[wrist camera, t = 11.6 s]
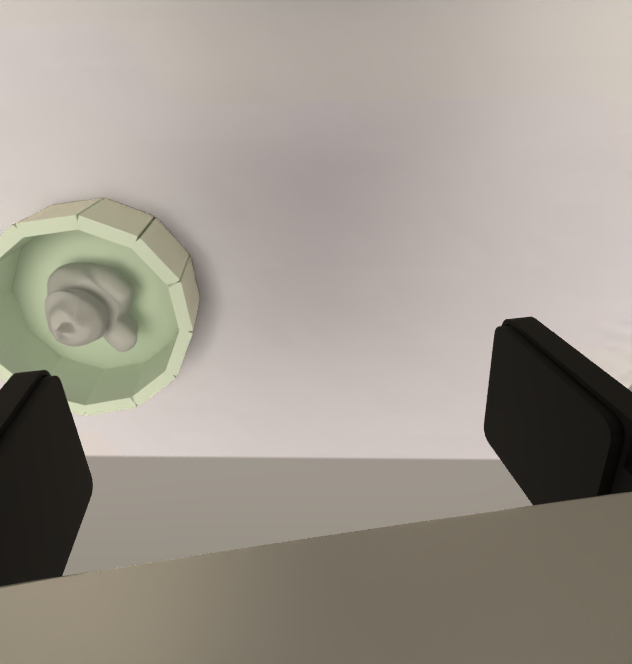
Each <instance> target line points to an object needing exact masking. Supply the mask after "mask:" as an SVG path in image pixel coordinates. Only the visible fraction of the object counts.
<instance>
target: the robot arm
mask: <svg viewBox="0 0 632 664" xmlns="http://www.w3.org/2000/svg"><path fill="white" fill-rule="evenodd" d="M484 432H485V436H486V439H487V441H488V443H489V444H490V445H491V447H492V448H493V450H494V451H495V452H496V454H497V455H498V457H499V458H500V459H501V461H502V462H503V464H504V465H505V466H506V468H507V469H508V470H509V472H510V473H511V475H512V476H513V478H514V479H515V480H516V482H517V483H518V485H519V486H520V487H521V489H522V490H523V491H524V493H525V494H526V496H527V497H528V499H529V500H530V501H531V503H532V504H533V505H532V506H526V507H518V508H511V509H504V510H497V511H490V512H484V513H476V514H470V515H463V516H456V517H449V518H443V519H436V520H429V521H422V522H415V523H409V524H401V525H395V526H388V527H381V528H374V529H368V530H361V531H354V532H347V533H341V534H334V535H328V536H321V537H314V538H308V539H301V540H295V541H288V542H282V543H275V544H269V545H262V546H255V547H249V548H242V549H235V550H229V551H222V552H216V553H209V554H202V555H196V556H189V557H184V558H176V559H170V560H164V561H158V562H152V563H145V564H138V565H132V566H125V567H119V568H112V569H106V570H99V571H93V572H86V573H80V574H74V575H67V576H62V575H63V572H64V569H65V566H66V564H67V561H68V558H69V556H70V553H71V550H72V547H73V544H74V542H75V539H76V536H77V533H78V531H79V528H80V525H81V523H82V520H83V517H84V514H85V512H86V509H87V506H88V503H89V501H90V498H91V495H92V489H93V483H92V477H91V473H90V470H89V467H88V464H87V461H86V458H85V454H84V451H83V448H82V445H81V442H80V439H79V435H78V432H77V429H76V426H75V423H74V420H73V417H72V413H71V410H70V407H69V404H68V401H67V398H66V395H65V391H64V388H63V385H62V382H61V380H60V378H59V377H58V376H51V374H50V373H49V372H48V371H47V370H38V371H29V372H19V373H14V374H13V375H12V376H11V377H10V378H9V379H8V381H7V382H6V383H5V384H4V386H3V387H2V388H1V389H0V664H632V392H631V391H630V390H629V389H627V388H626V387H625V386H623V385H622V384H621V383H619V382H618V381H617V380H615V379H614V378H613V377H611V376H610V375H609V374H608V373H606V372H605V371H604V370H602V369H601V368H600V367H598V366H597V365H596V364H594V363H593V362H592V361H590V360H589V359H588V358H587V357H585V356H584V355H583V354H581V353H580V352H579V351H577V350H576V349H575V348H573V347H572V346H571V345H569V344H568V343H567V342H565V341H564V340H563V339H562V338H560V337H559V336H558V335H556V334H555V333H554V332H552V331H551V330H550V329H548V328H547V327H546V326H544V325H543V324H542V323H541V322H539V321H538V320H537V319H535V318H533V317H523V318H514V319H506V320H505V321H504V322H503V324H502V326H499V327H497V328H496V330H495V334H494V342H493V351H492V359H491V368H490V377H489V386H488V394H487V403H486V412H485V420H484Z"/></svg>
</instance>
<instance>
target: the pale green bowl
mask: <svg viewBox="0 0 632 664" xmlns="http://www.w3.org/2000/svg"><path fill="white" fill-rule="evenodd" d="M153 218H154V216H152V215H150V214H147V213H144V212H142V211H139V210H136V209H134V208H131V207H128V206H125V205H123V204H120V203H117V202H115V201H112V200H109V199H107V198H105V199H103V198H97V199H90V200H83V201H76V202H69V203H62V204H55V205H52V206H49V207H47V208H45V209H43V210H41V211H39V212H37V213H35V214H33V215H31V216H29V217H27V218H25V219H23V220H21V221H19V222H17V223H15V224H13V225H12V226H11V227H10V228H8V229H7V230H6V231H5V232H4V233H3V234H2V235H1V236H0V379H1V380H2V381H4V382H5V383H6V382H7V381H8V379H9V378H10V377H11V376H12V375H13V374H14V373H19V372H29V371H38V370H47V371H48V372H49V373H50V374H51V376H58V377H59V378H60V380H61V382H62V385H63V388H64V391H65V395H66V398H67V401H68V404H69V407H70V410H71V413H74V414H78V415H82V416H84V415H85V413H86V416H90V415H96V414H102V413H107V412H113V411H119V410H125V409H131V408H136V407H137V405H138V406H140V405H141V404H143V403H144V402H145V401H147V400H148V399H149V398H151V397H152V396H153V395H154V394H156V393H157V392H158V391H160V390H161V389H162V388H164V387H165V386H166V385H167V384H169V383H170V382H171V381H173V380H174V379H175V378H176V376H177V375H178V373H179V370H180V367H181V364H182V362H183V359H184V356H185V353H186V350H187V348H188V345H189V342H190V339H191V337H192V334H193V330H194V325H195V320H196V316H197V311H198V307H199V302H200V296H199V292H198V287H197V283H196V279H195V274H194V270H193V266H192V261H191V257H190V256H188V255H189V253H188V252H187V251H186V250H185V249H184V248H183V246H182V245H181V244H180V243H179V242H178V241H177V240H176V239H175V238H174V237H173V235H172V234H171V233H170V232H169V231H168V230H167V229H166V228H165V227H164V226H163V224H162V223H161V222H160V221H159V220H158V219H157V218H155V219H153ZM76 262H89V263H96V264H99V265H105V266H109V267H112V268H115V269H117V270H118V271H119V272H120V273H122V274H123V275H124V276H125V277H126V278H127V279H128V280H129V281H130V282H131V283H132V284H133V286H134V295H133V299H132V306H131V308H130V310H129V313H128V314H129V315H131V316H132V317H133V318H134V319H135V320H136V321H137V324H138V332H137V342H136V344H135V346H134V347H133V348H132V349H130V350H129V351H126V352H119V351H117V350H116V349H115V348H113V347H112V346H111V345H110V344H109V343H108V342H107V341H106V340H105V338H104V337H103V336H102V337H101V338H100V339H98V340H95V341H93V342H91V343H89V344H87V345H83V346H77V347H72V346H66V345H64V344H62V343H59V342H57V341H56V339H55V337H54V336H53V335H52V334H51V332H50V331H49V328H48V323H47V319H46V315H45V299H46V297H47V282H48V278H49V276H50V275H51V274H52V273H53V272H54V271H55V270H56V269H57V268H58V267H60V266H62V265H65V264H69V263H76Z"/></svg>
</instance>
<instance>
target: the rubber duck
mask: <svg viewBox="0 0 632 664" xmlns="http://www.w3.org/2000/svg"><path fill="white" fill-rule="evenodd" d="M133 295H134V286H133V284H132V283H131V282H130V281H129V280H128V279H127V278H126V277H125V276H124V275H123V274H122V273H120V272H119V271H118V270H117V269H115V268H112V267H109V266H105V265H99V264H96V263H89V262H76V263H69V264H65V265H62V266H60V267H58V268H57V269H56V270H55V271H54V272H53V273H52V274H51V275H50V276H49V278H48V282H47V297H46V299H45V315H46V319H47V323H48V328H49V331H50V332H51V334H52V335H53V336H54V337H55V339H56V341H57V342H59V343H62V344H64V345H66V346H72V347H77V346H83V345H87V344H89V343H91V342H93V341H95V340H98V339H100V338H101V337H102V336H103V337H104V338H105V340H106V341H107V342H108V343H109V344H110V345H111V346H112V347H113V348H115V349H116V350H117V351H119V352H126V351H129V350H130V349H132V348H133V347H134V346H135V344H136V342H137V332H138V324H137V321H136V320H135V319H134V318H133V317H132V316H131V315H129V314H128V313H129V310H130V308H131V306H132V299H133Z"/></svg>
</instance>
